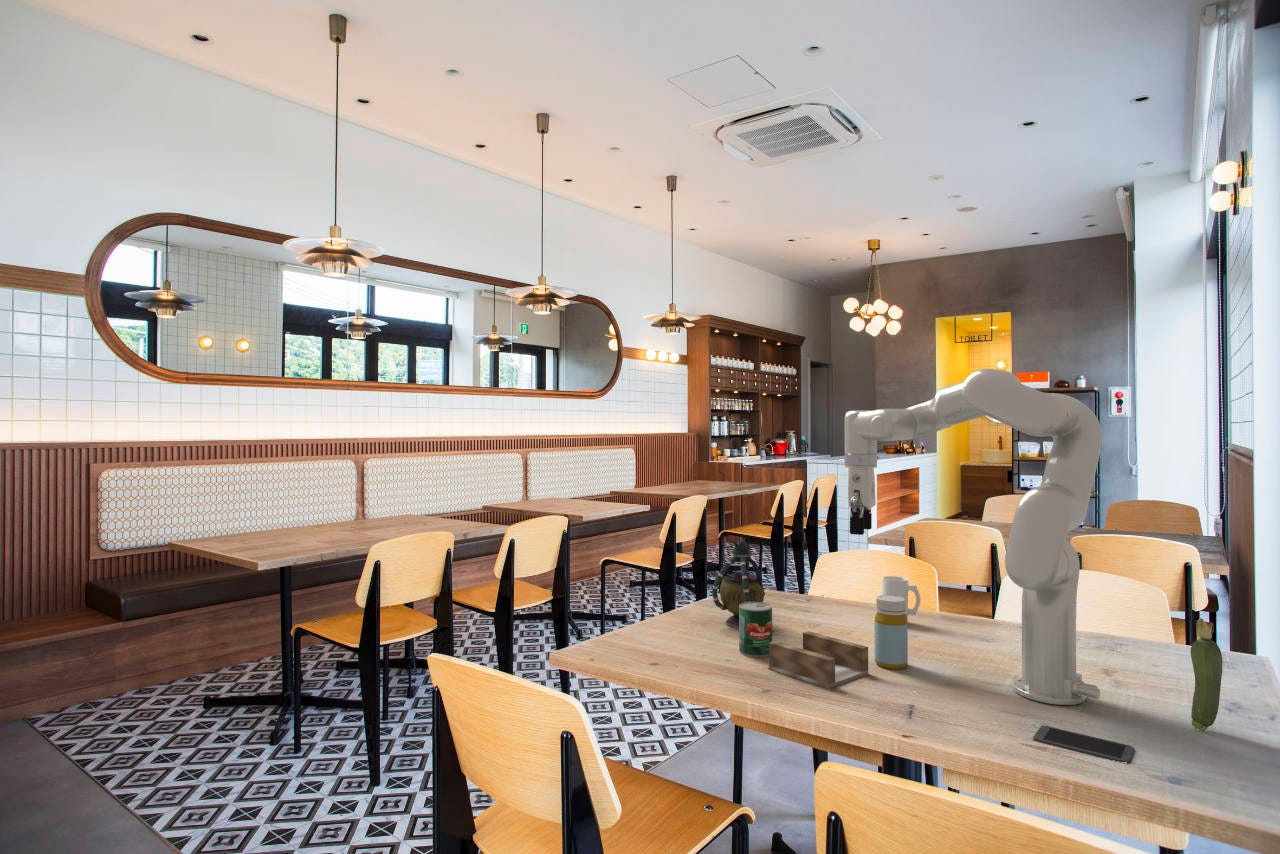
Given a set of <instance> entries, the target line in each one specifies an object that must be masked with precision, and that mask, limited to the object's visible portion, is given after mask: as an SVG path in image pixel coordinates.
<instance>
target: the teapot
mask: <svg viewBox="0 0 1280 854" xmlns="http://www.w3.org/2000/svg"><path fill="white" fill-rule="evenodd" d="M730 542H731V543H733V544H734V548H733V550H732V552H731V553H732V557H730V558H729V559H728V560H727V561H726V562H725V564H724V565H723V566H722V568H721V569H720V570H719V572H718V573H717V576H716V577H715V580H714V583H713V586H712V589H711V592H712V593H711V595H712V599H713V603H714V605H715V606H716V607H717V608H719V609H721V610H722V611H726V610H727V611H728V612H729V613H730V614H733V615H731V616H729V617H728V619H726V620H725V621H724V622H725V625H726V626H727V627H730V628H734V629H739V605H740V604H741V603H745V602H762V603H764V599H765V596H766V592H765V588H764V584H763V577H762V572H761V571H760V570H761V569H760V567H759V565H758V564H757V563H756V561H755V560H753V559H752V558H751V557H752V551H751V548H750V546H749V544H748V543H747V542H746V541H745V539H743V538H741V539H740V540H738V541H737V542H736V541H735V540H731V541H730ZM735 563H740V570H736V571H734V573H729V568H730V567H731V566H732V565H733V564H735ZM746 563H750V564H751V565H752V567H753V569H754V571H755V574H751V573H750V572H749V571H748V570H747V564H746ZM721 580H722V581H721ZM719 585H720V586H719ZM718 589H719V595H720V600H721V601H720V600H719V595H718Z"/></svg>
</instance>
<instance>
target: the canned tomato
mask: <svg viewBox="0 0 1280 854" xmlns="http://www.w3.org/2000/svg"><path fill="white" fill-rule="evenodd" d="M738 631H739V632H738V634H739V635H738V639H739V640H738V641H739V642H738V644H739V646H738V648H739V649H738V651H739V653H740V654H741V655H743V656H745V657H746V656H747V657H753V658H763V657H764V658H765V657H769V642H773V605H772V604H770V603H767V602H763V603H762V602H745V603H741V604H740V605H739V628H738Z"/></svg>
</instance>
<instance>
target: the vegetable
mask: <svg viewBox="0 0 1280 854" xmlns="http://www.w3.org/2000/svg"><path fill="white" fill-rule="evenodd" d="M1197 634H1198V637H1199V638H1198V639H1196V640H1195V641H1193V642H1192V643H1191V647H1190V659H1191V663H1192V667H1193V673H1194V690H1193V696H1192V706H1191V725H1192V726H1193V727H1194V729H1195V730H1199V731H1202V732H1205V731H1206V730H1207V729H1208V728H1209V727H1210V726H1212V725H1213V724H1214V723H1215V721H1216V719H1217V715H1218V711H1219V707H1220V695H1221V688H1222V687H1221V686H1222V677H1223V655H1222V651H1221V648H1220V646H1219V645H1218V644H1217V643H1216V642H1215V641H1214V640H1212V637H1213V635H1212V631H1211V628H1210V627H1209V626H1208V624H1207V623H1206V621H1205V620H1204V618H1198V620H1197Z"/></svg>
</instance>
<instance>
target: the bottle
mask: <svg viewBox="0 0 1280 854" xmlns="http://www.w3.org/2000/svg"><path fill="white" fill-rule="evenodd" d="M875 598H876V599H875V601H876V604H875V605H876V606H875V607H876V612H875V615H874V662H875V663H876V664H877V666H879V667H880V668H884V669H887V670H901V669H905V668H906V667H907V666H908V662H909V661H908V660H909V657H908V656H909V655H908V654H909V652H908V651H909V646H908V645H909V643H908V642H909V641H908V638H909V637H908V636H909V635H908V633H909V632H908V631H909V630H908V627H909V626H908V625H909V624H908V620H907V617H906V615H905V598H903V597H899V596H893V595H883V594H882V595H878V596H876V597H875Z"/></svg>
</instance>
